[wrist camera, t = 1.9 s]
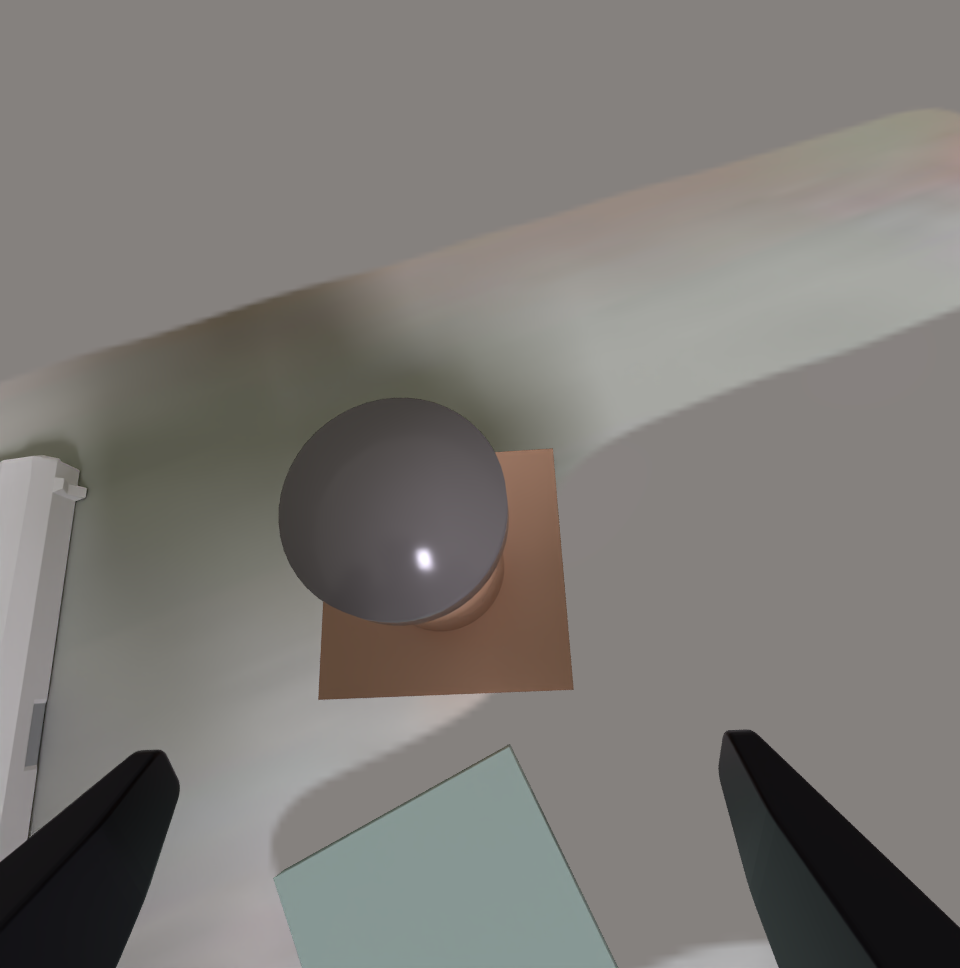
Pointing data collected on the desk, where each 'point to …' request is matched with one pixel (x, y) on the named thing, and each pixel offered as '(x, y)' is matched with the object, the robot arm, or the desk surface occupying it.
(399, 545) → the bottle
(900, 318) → the desk surface
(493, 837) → the mat
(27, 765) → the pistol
